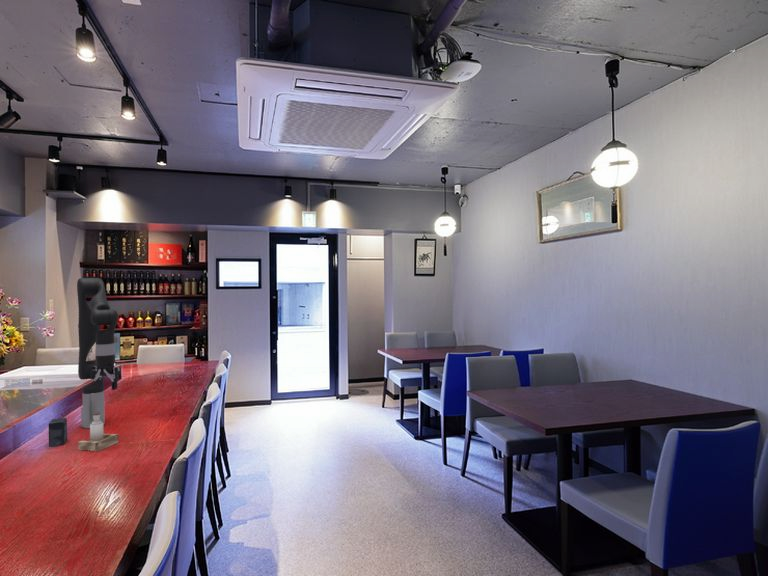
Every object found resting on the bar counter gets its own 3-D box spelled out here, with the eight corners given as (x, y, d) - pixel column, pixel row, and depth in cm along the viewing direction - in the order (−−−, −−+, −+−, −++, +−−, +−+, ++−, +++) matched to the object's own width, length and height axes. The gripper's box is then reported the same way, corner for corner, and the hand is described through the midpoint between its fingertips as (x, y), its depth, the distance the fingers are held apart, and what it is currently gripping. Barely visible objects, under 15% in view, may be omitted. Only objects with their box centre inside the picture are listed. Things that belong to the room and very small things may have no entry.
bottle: (87, 445, 194) (86, 413, 194) (96, 441, 199) (96, 410, 199) (97, 446, 193) (96, 414, 193) (106, 442, 198) (105, 411, 198)
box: (64, 445, 198) (63, 421, 198) (48, 447, 196) (47, 423, 196) (67, 439, 205) (67, 416, 205) (52, 441, 203) (52, 418, 203)
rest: (78, 450, 191) (78, 441, 191) (99, 441, 202) (98, 433, 202) (98, 451, 189) (98, 442, 189) (118, 442, 200) (118, 434, 200)
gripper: (85, 354, 200) (85, 390, 200) (112, 355, 197) (113, 391, 197) (98, 351, 207) (99, 386, 207) (125, 352, 204) (126, 387, 204)
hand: (106, 389), depth 202 cm, fingers open, 8 cm apart
